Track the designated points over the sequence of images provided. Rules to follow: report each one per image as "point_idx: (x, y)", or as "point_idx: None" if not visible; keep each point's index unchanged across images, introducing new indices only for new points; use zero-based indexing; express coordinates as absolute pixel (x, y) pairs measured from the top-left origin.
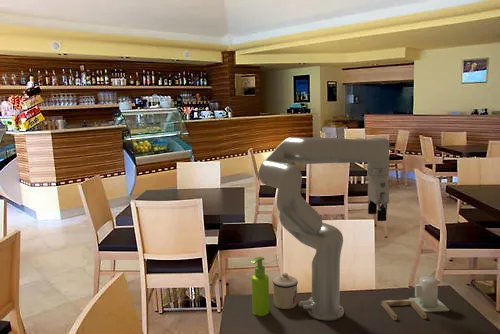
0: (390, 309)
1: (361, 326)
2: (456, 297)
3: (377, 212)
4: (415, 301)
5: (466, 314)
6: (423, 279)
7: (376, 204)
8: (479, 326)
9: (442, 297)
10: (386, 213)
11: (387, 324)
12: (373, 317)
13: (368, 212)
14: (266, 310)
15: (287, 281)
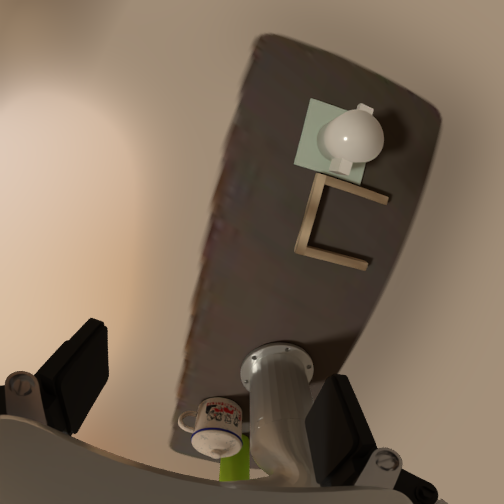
0: (340, 259)
1: (350, 335)
2: (323, 55)
3: (321, 472)
4: (316, 162)
5: (394, 104)
6: (352, 147)
7: (61, 383)
8: (432, 126)
9: (313, 82)
10: (364, 417)
11: (368, 287)
12: (335, 299)
13: (100, 386)
14: (247, 442)
15: (232, 449)
